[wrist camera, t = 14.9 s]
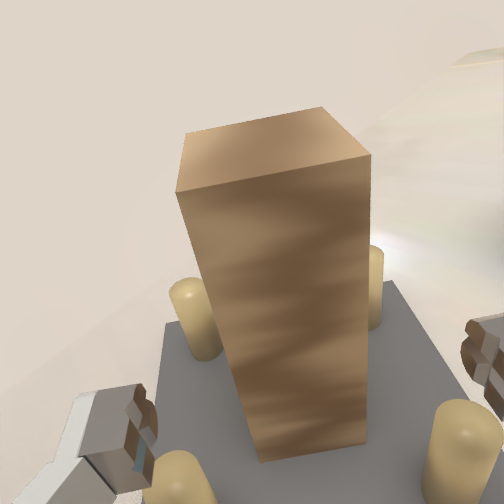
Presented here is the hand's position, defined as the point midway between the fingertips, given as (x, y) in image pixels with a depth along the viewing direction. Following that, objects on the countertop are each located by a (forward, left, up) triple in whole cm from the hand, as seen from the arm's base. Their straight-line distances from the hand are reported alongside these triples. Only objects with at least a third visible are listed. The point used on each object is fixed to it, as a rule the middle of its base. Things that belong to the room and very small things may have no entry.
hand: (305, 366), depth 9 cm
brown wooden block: (0, +5, -10) cm, 11 cm away
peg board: (0, +5, -11) cm, 12 cm away
